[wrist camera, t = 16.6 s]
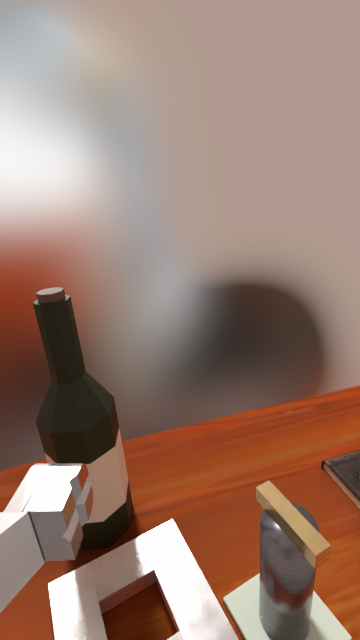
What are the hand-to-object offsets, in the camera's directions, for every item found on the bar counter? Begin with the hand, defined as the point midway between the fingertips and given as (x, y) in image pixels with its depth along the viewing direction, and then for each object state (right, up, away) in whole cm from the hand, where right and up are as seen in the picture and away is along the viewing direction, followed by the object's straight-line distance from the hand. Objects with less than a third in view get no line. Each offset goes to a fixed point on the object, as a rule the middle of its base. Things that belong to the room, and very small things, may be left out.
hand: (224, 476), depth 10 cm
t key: (+8, -23, +21) cm, 32 cm away
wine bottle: (-11, -21, +32) cm, 40 cm away
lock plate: (-5, -24, +21) cm, 33 cm away
